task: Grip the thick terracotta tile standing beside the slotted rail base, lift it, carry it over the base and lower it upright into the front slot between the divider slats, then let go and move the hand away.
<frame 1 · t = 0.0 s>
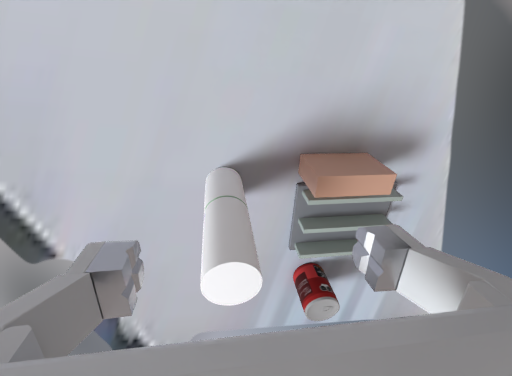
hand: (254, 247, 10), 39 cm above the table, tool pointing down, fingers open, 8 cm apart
terracotta tile: (332, 162, 53), on the table
slotted rail base: (339, 214, 60), on the table
cylindrical container: (223, 183, 52), on the table
canned food: (307, 272, 68), on the table
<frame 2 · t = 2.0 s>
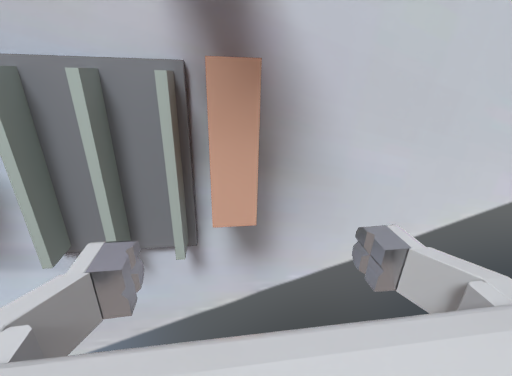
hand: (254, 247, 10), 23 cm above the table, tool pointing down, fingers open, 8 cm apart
terracotta tile: (229, 128, 31), on the table
slotted rail base: (115, 164, 30), on the table
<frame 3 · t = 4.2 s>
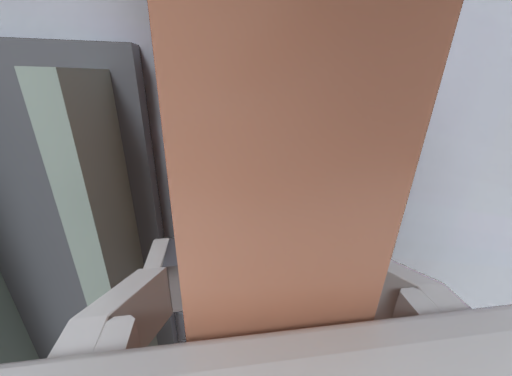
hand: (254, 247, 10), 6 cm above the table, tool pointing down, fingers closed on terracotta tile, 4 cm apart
terracotta tile: (240, 188, 15), on the table, touching gripper
slotted rail base: (7, 262, 15), on the table
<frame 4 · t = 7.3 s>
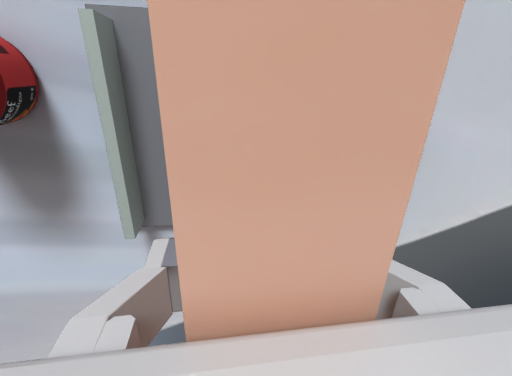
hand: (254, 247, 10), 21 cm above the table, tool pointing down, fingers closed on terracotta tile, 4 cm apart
terracotta tile: (240, 188, 15), point 16 cm above the table, touching gripper
slotted rail base: (196, 131, 29), on the table
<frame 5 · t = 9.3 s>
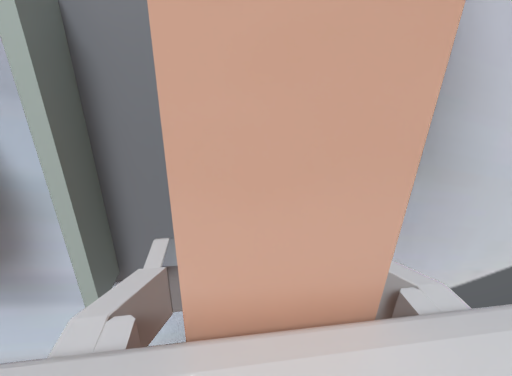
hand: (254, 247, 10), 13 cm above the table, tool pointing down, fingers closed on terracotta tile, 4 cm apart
terracotta tile: (240, 188, 15), point 7 cm above the table, touching gripper
slotted rail base: (189, 154, 21), on the table
when the fingers open (8 cm above the table, at t = 10.8 s): terracotta tile drops 1 cm, resting on slotted rail base.
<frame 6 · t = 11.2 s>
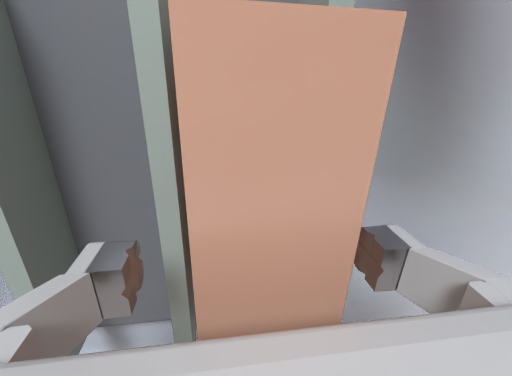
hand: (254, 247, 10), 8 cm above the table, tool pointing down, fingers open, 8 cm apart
terracotta tile: (239, 180, 16), point 1 cm above the table, touching slotted rail base
slotted rail base: (181, 175, 17), on the table
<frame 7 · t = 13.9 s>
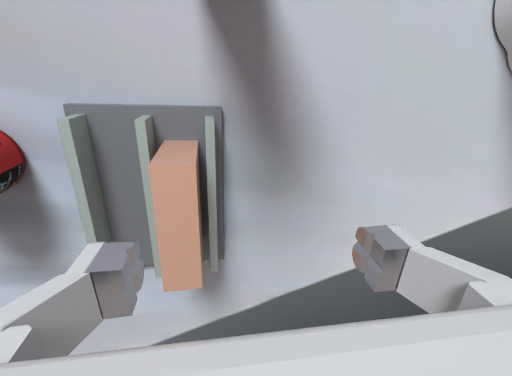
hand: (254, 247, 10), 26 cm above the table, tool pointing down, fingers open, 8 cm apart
terracotta tile: (185, 193, 35), point 1 cm above the table, touching slotted rail base
slotted rail base: (158, 190, 35), on the table
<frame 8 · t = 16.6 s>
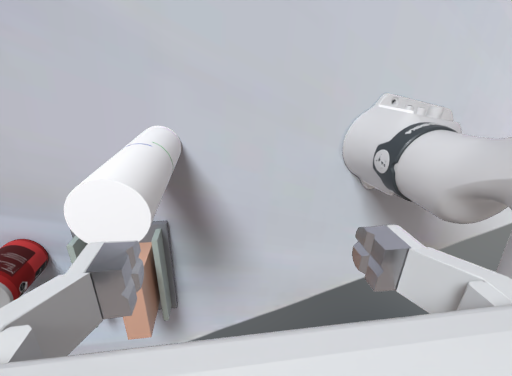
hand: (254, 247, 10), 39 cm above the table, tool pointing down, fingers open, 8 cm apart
terracotta tile: (147, 270, 55), point 1 cm above the table, touching slotted rail base
slotted rail base: (130, 268, 55), on the table
cylindrical container: (160, 145, 46), on the table
canned food: (28, 254, 51), on the table
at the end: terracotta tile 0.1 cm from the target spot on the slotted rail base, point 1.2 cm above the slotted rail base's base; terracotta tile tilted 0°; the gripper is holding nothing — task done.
